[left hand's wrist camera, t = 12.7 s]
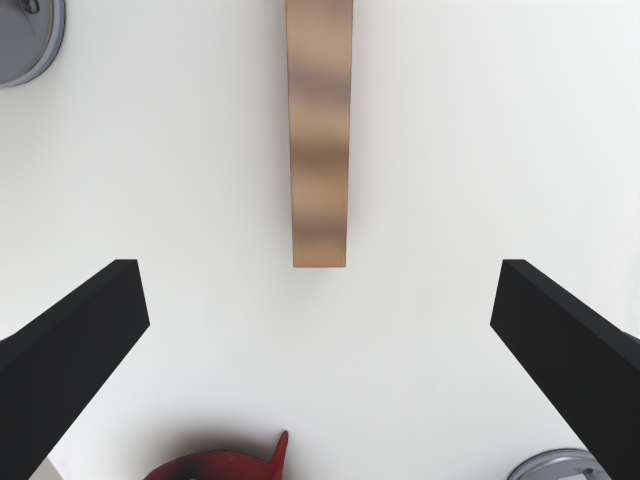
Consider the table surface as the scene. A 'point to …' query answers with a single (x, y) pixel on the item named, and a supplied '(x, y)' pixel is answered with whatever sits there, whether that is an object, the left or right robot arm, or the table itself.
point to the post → (319, 127)
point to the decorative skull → (223, 466)
